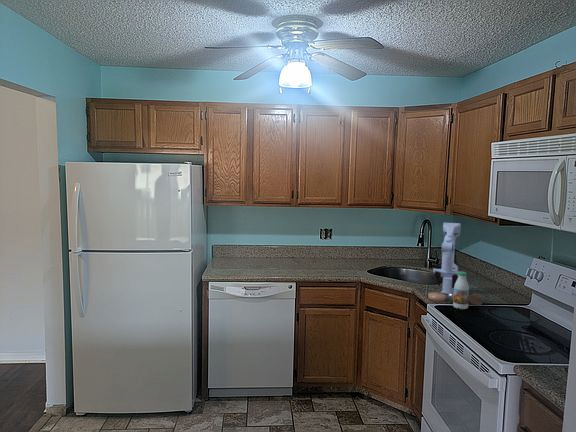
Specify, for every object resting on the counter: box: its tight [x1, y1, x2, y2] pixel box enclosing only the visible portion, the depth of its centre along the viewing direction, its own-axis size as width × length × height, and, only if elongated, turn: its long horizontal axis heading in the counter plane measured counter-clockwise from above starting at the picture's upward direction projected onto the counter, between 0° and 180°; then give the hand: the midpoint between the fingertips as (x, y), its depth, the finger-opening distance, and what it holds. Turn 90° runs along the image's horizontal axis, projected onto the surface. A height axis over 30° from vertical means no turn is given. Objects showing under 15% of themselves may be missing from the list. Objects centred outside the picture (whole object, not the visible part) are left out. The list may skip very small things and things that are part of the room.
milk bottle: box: [452, 270, 470, 310], centre depth 235 cm, size 8×8×20 cm
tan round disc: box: [427, 291, 447, 302], centre depth 251 cm, size 10×10×2 cm
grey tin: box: [447, 292, 454, 300], centre depth 253 cm, size 5×5×3 cm
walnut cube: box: [470, 293, 484, 306], centre depth 243 cm, size 5×5×5 cm
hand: (445, 286), depth 241 cm, fingers open, 7 cm apart
